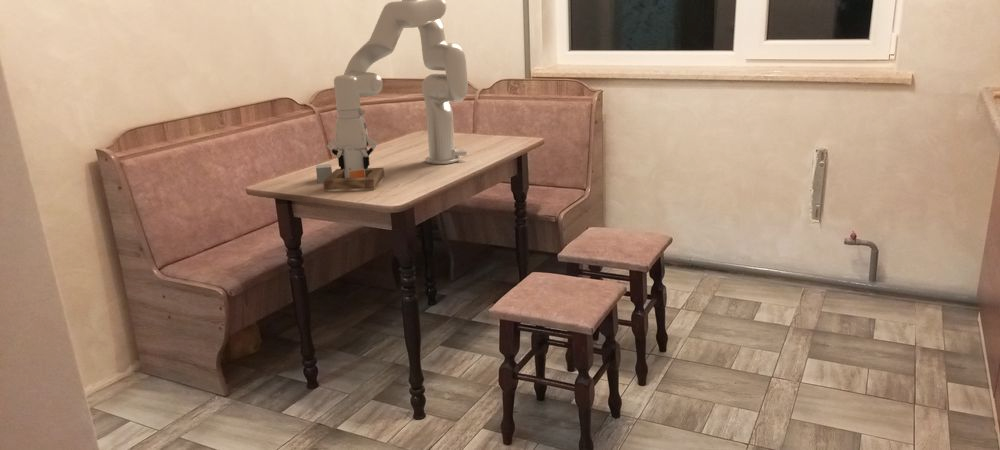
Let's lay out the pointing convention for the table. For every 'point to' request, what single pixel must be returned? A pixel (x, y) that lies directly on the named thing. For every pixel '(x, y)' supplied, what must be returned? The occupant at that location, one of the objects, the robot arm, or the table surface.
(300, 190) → the table surface
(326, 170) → the grey cube
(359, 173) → the skincare box
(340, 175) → the socket block
